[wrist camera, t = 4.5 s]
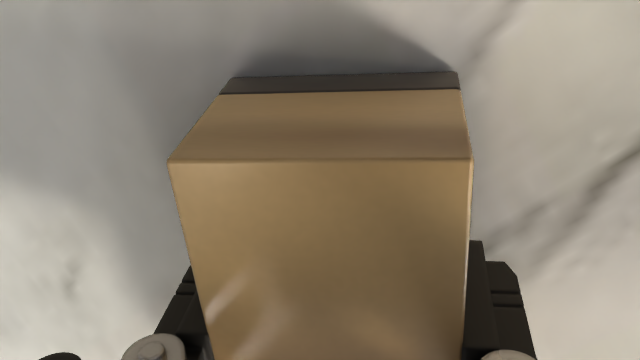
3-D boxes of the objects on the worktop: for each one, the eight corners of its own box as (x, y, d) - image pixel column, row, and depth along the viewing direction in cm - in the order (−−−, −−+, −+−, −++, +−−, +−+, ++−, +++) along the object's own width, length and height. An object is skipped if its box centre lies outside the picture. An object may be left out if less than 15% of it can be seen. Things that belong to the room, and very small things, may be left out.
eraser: (230, 77, 13) (163, 160, 9) (458, 70, 12) (474, 159, 9) (280, 382, 18) (248, 510, 14) (444, 392, 17) (451, 530, 14)
